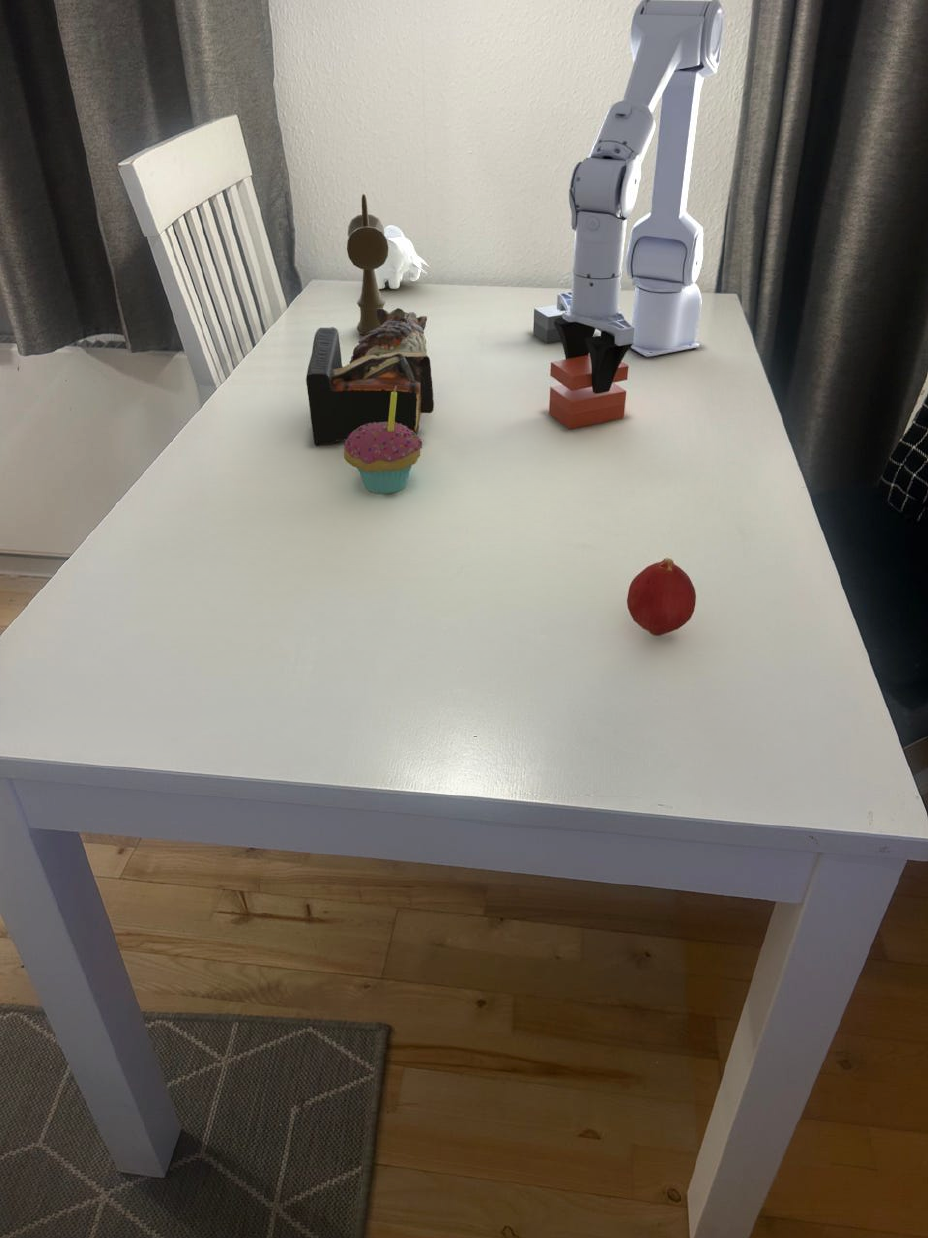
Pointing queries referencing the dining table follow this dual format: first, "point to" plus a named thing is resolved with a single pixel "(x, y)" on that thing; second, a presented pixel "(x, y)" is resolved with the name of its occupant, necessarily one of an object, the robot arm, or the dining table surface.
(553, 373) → the flat red block
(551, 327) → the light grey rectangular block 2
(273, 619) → the dining table surface
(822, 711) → the dining table surface
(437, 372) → the dining table surface
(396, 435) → the cupcake
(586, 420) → the red rectangular block
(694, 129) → the robot arm
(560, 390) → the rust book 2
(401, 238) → the elephant figurine
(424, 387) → the bookend
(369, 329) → the kendama
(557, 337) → the dark grey rectangular block
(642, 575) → the onion
